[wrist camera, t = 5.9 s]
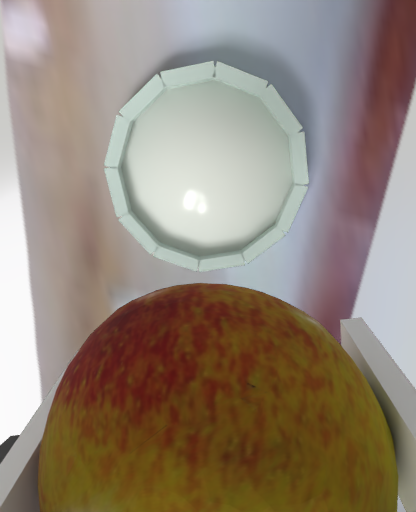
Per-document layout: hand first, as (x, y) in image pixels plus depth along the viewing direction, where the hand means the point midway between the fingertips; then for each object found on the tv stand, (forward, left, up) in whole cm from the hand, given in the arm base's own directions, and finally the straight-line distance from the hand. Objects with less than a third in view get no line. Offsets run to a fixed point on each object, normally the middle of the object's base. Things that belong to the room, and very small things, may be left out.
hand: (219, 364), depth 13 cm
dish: (+6, 0, -16) cm, 18 cm away
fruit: (0, 0, -1) cm, 1 cm away
